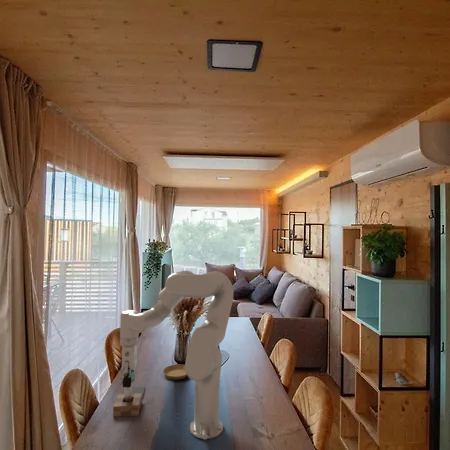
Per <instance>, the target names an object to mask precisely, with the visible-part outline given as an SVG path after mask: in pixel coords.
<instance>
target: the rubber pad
mask: <svg viewBox="0 0 450 450" xmlns="http://www.w3.org/2000/svg"><path fill="white" fill-rule="evenodd" d="M145 389H146V386H132V394H133V393H142V398H143V399H144V392H145V391H146V390H145ZM120 394H125V387H123V388H122V390H121V393H120Z"/></svg>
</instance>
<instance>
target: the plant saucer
mask: <svg viewBox="0 0 450 450" xmlns="http://www.w3.org/2000/svg"><path fill="white" fill-rule="evenodd" d="M162 373H163V374H164V376H165V377H167V378H168V379H171V380H182V379H185V378H186V377H188V375H187V373H186V370H185V364H180V363H178V364H172V365H168V366H166V367H164V368H163V370H162Z"/></svg>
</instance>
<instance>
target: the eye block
mask: <svg viewBox="0 0 450 450" xmlns="http://www.w3.org/2000/svg"><path fill="white" fill-rule="evenodd" d="M124 396H125V394H121V393H118V394H117V396H116V398H115V402H114V404H113V409H112V410H113V413H112V417H127V416H128V417H129V416H131V417H132V416H133V417H134V416H140V415H139V414H140V410H141V406H142V401H143V400H142V393H133V394H132V402H124Z"/></svg>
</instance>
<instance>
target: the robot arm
mask: <svg viewBox="0 0 450 450" xmlns="http://www.w3.org/2000/svg"><path fill="white" fill-rule="evenodd" d="M210 297H211V300H210V302H209V303H208V304H209V305H208V307H207V312H206V315H205V320H204V321H203V323H201V324H200V325H198V326H197V327H196V328H195V329H194V331H193V333H192V335H191V337H190V340H189V345H188V349H187V354H186V358H185V364H184V365H185V370H186V373H187V377H188V378H189V379H190V380H191V381H193V382H194V408H193V409H194V410H193V413H194V414H193V421H191V423H190V425H189V431H190V433H191V434H192V435H193V436H194V437H195V438H199V439H203V440H208V439H209V440H210V439H215V438H216V437H218V436H219V435H221V434H222V432H223V430H224V424H223V422H222V421H221V420H220V386H221V384H220V383H221V370H222V363H223V357H222V355H223V354H222V353H221V350H220V348H219V347H218V346H219V345H220V344H221V343H222V342H223V341H224V338H225V336H226V332H227V328H228V323H229V319H230V314H231V311H232V309H231V308H232V306H233V300H234V287H233V285H232V282H231V280H230V279H229V277H228V276H227V275H226V274H225V273H223V272H221V271H218V270H214V271H213V270H212V271H208V272H206V273H202V274H196V273H195V274H194V273H193V272H192V271H190V270H181V271H176V272H173V273H171V274H170V275H168V277H167V278H166V281H165V286H164V288H162V289H161V290H160V291H159V293H158V297H157V298H158V300H159V301H157V303H156V304H155V305H154V306H152V307H151V309H148V310H145V311H142V312H141V313H140V312H139V311H137V310H135V309H126V310H124V311H122V312H121V314H120V321H119V323H120V325H119V327H120V328H119V330H120V331H119V333H120V334H119V346H121V347H122V352H121V353H122V354H121V371H123V372H122V374H123V382H122V387H123V388H125V387H131V377H130V375H131V371H134V372H135V369H136V366H137V363H138V355H137V354H138V353H137V352H138V349H137V348H138V346H137V345H138V344H139V333H140V334H141V333H146V332H147V331H150V330H151V329H153V328H155V327H157V326H159V325H160V324H161V323H162V322H163V321H165V320H166V318H168V317H169V316H170V314H172V312H173V311H174V308H175V307H176V306H177V305H179V303H181V302H182V301H183V300H184V299H185V298H195V299H206V298H210ZM128 371H129V373H128Z"/></svg>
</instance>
